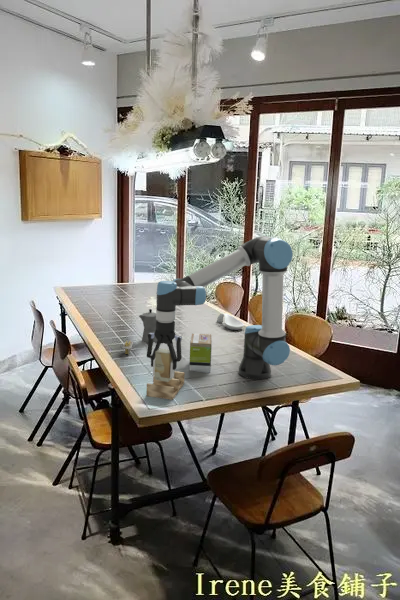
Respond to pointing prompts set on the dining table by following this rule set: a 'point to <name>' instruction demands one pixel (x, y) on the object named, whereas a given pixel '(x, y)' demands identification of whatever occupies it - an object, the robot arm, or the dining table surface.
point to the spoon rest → (230, 321)
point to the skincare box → (162, 365)
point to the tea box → (200, 353)
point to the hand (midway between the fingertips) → (163, 375)
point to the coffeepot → (148, 325)
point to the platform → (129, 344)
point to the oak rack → (166, 387)
